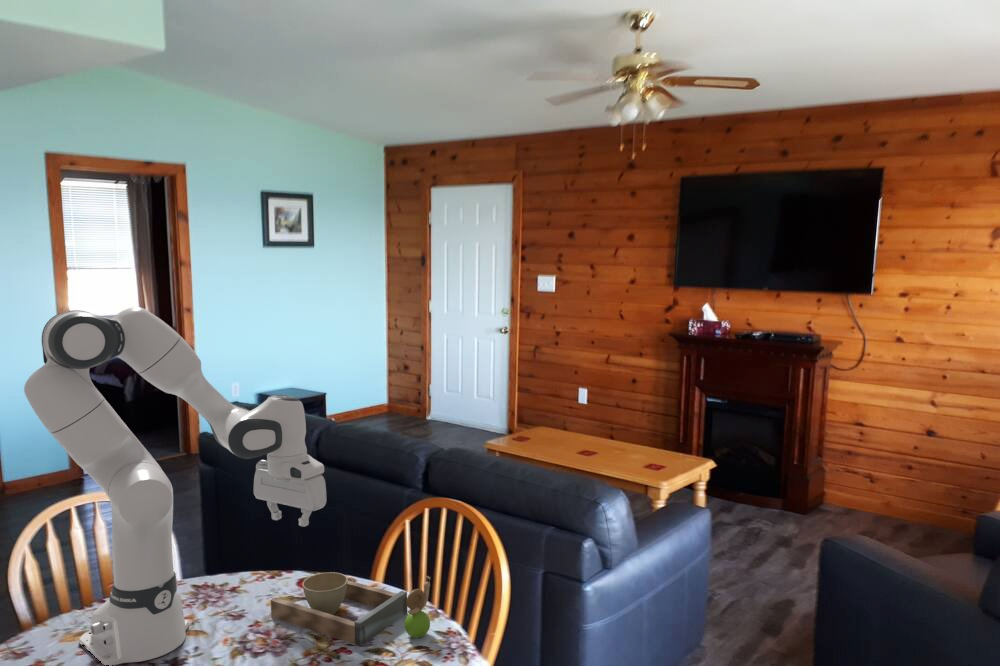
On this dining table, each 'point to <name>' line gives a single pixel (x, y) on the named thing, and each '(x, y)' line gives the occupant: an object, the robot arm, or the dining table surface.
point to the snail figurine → (417, 612)
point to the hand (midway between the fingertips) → (290, 522)
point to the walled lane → (357, 632)
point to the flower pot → (325, 591)
